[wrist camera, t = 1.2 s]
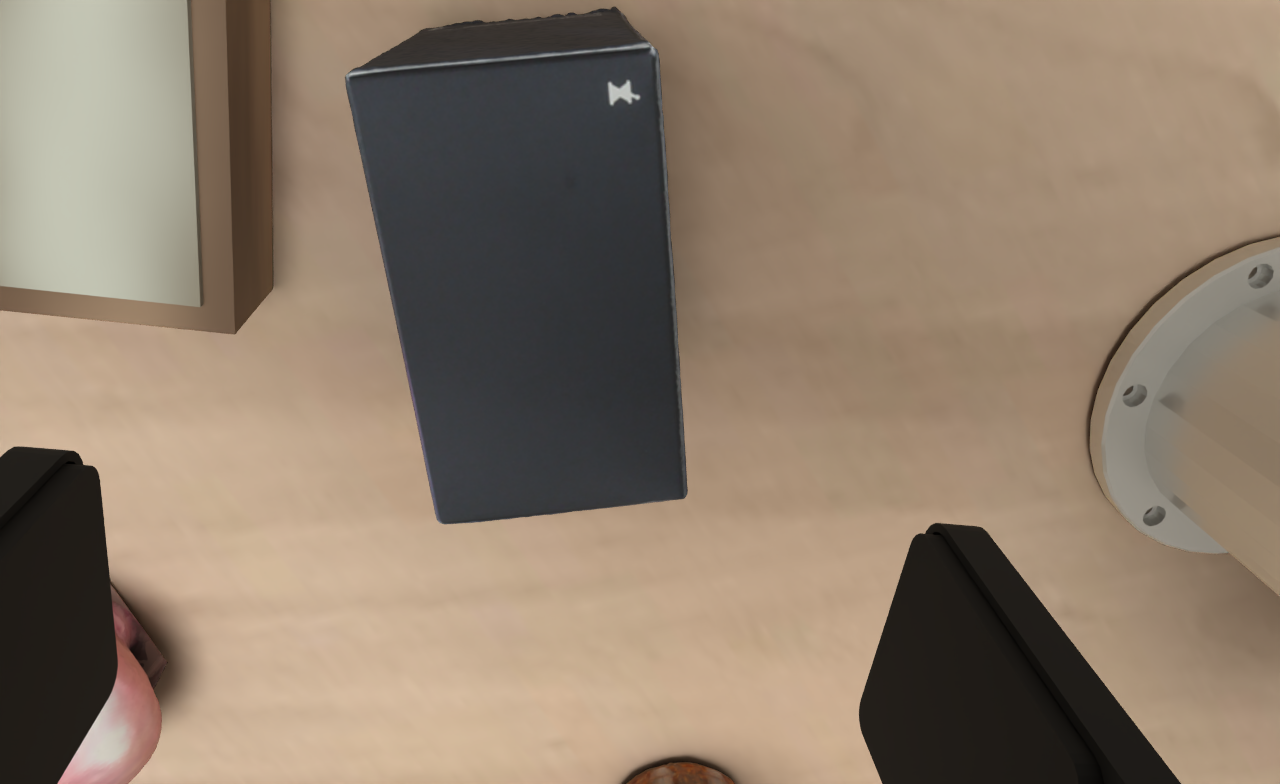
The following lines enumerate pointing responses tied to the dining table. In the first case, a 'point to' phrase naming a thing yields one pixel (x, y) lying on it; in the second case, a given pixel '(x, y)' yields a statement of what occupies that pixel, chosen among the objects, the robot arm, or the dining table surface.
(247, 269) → the base
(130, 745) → the onion
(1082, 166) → the dining table surface
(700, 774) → the sauce bottle
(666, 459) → the small box
